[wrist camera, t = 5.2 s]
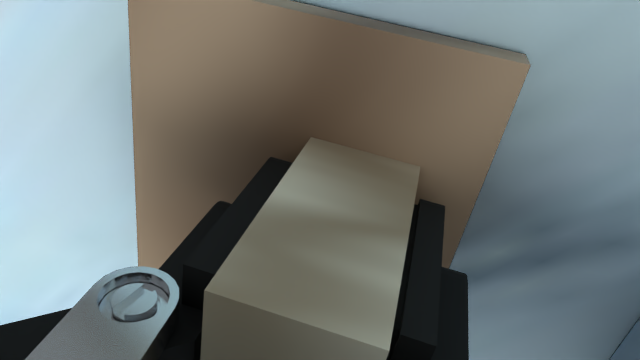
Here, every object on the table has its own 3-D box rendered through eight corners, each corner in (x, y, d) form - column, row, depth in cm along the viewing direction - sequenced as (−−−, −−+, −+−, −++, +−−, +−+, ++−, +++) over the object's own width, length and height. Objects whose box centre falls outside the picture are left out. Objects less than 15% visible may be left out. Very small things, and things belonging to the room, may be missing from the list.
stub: (525, 54, 9) (599, 210, 4) (405, 360, 14) (373, 606, 9) (148, -33, 10) (-141, 11, 5) (154, 277, 15) (1, 455, 10)
